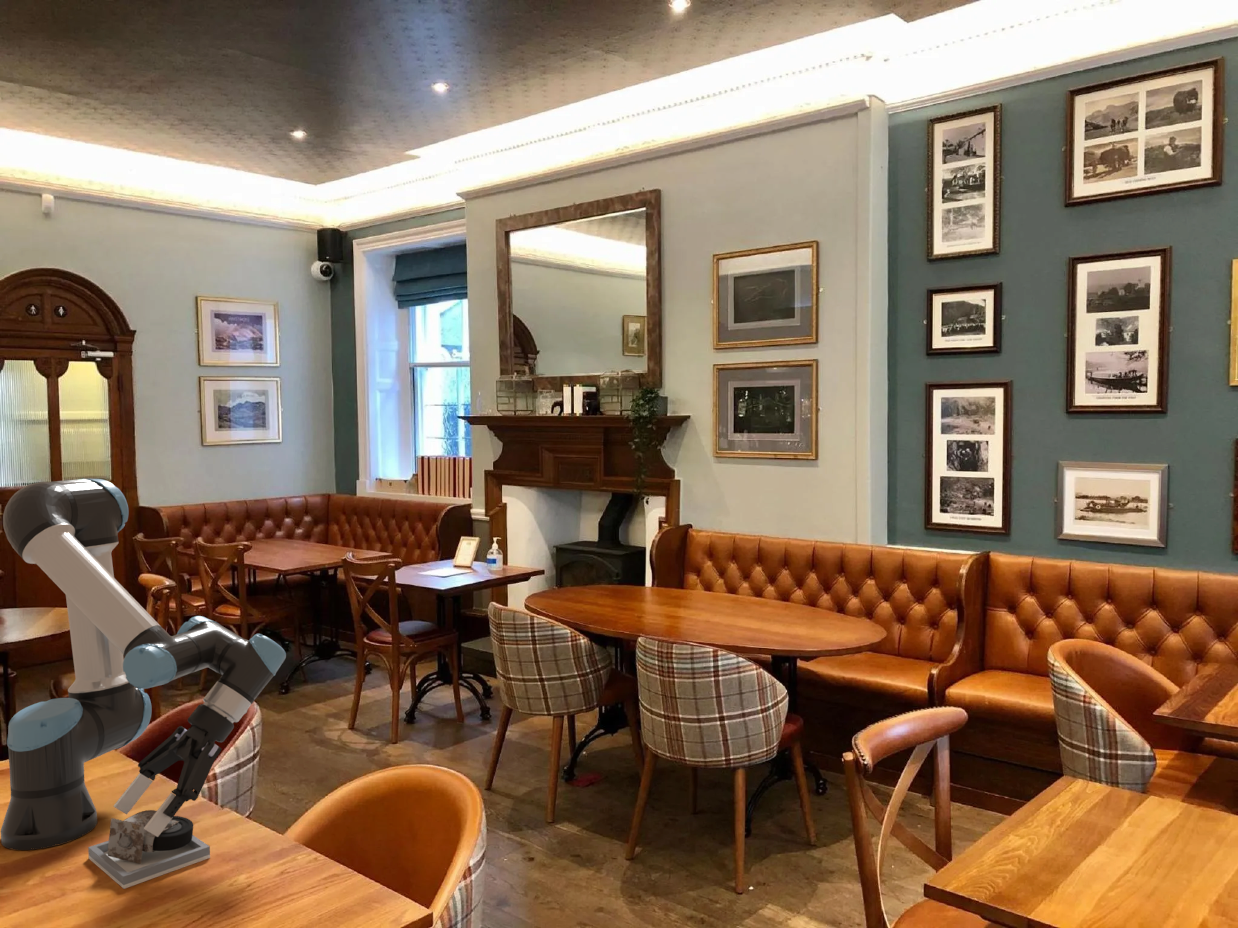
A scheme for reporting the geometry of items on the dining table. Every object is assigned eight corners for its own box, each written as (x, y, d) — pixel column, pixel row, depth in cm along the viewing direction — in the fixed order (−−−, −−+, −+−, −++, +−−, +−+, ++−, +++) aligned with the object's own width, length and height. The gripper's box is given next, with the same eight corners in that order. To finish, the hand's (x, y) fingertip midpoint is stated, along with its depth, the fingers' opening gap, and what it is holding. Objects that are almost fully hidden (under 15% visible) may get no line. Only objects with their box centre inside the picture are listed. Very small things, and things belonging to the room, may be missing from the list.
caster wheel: (201, 846, 164) (162, 871, 155) (146, 832, 167) (104, 857, 157) (205, 810, 164) (166, 833, 154) (150, 796, 166) (108, 818, 157)
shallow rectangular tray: (88, 858, 160) (88, 846, 160) (171, 830, 171) (171, 820, 170) (123, 888, 149) (123, 876, 149) (210, 857, 160) (209, 846, 160)
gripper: (266, 738, 162) (181, 852, 152) (204, 710, 179) (124, 811, 169) (235, 716, 158) (146, 832, 148) (174, 689, 175) (91, 791, 164)
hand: (134, 821), depth 158 cm, fingers open, 13 cm apart
